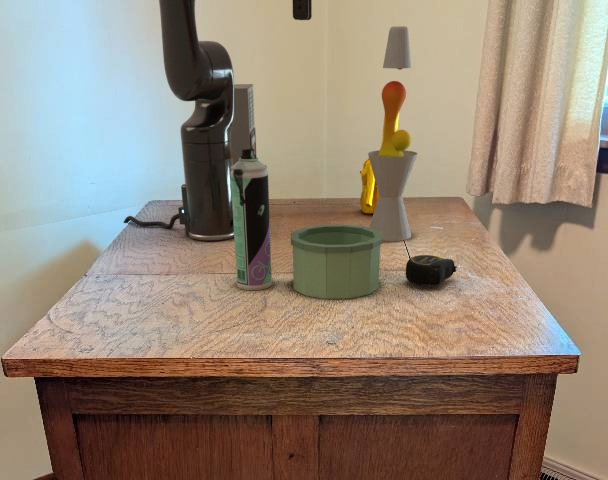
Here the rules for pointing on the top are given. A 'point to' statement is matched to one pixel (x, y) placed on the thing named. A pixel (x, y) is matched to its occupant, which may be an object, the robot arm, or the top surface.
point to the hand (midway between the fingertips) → (302, 19)
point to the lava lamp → (393, 148)
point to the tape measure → (429, 269)
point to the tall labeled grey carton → (243, 121)
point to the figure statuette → (370, 183)
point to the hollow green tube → (336, 261)
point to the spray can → (251, 222)
